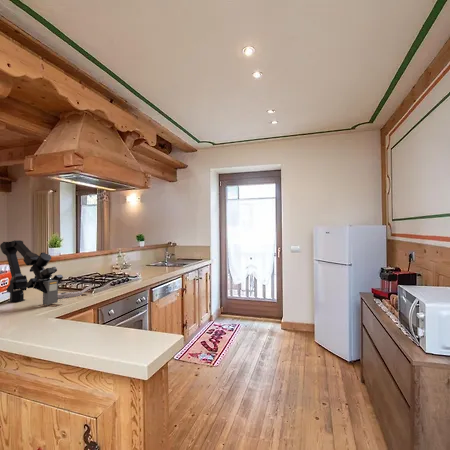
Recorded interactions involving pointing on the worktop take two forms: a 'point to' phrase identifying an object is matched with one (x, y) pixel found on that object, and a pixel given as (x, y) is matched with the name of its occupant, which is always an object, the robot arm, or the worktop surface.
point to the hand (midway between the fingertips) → (52, 291)
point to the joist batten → (50, 305)
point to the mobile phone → (73, 293)
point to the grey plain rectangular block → (50, 292)
